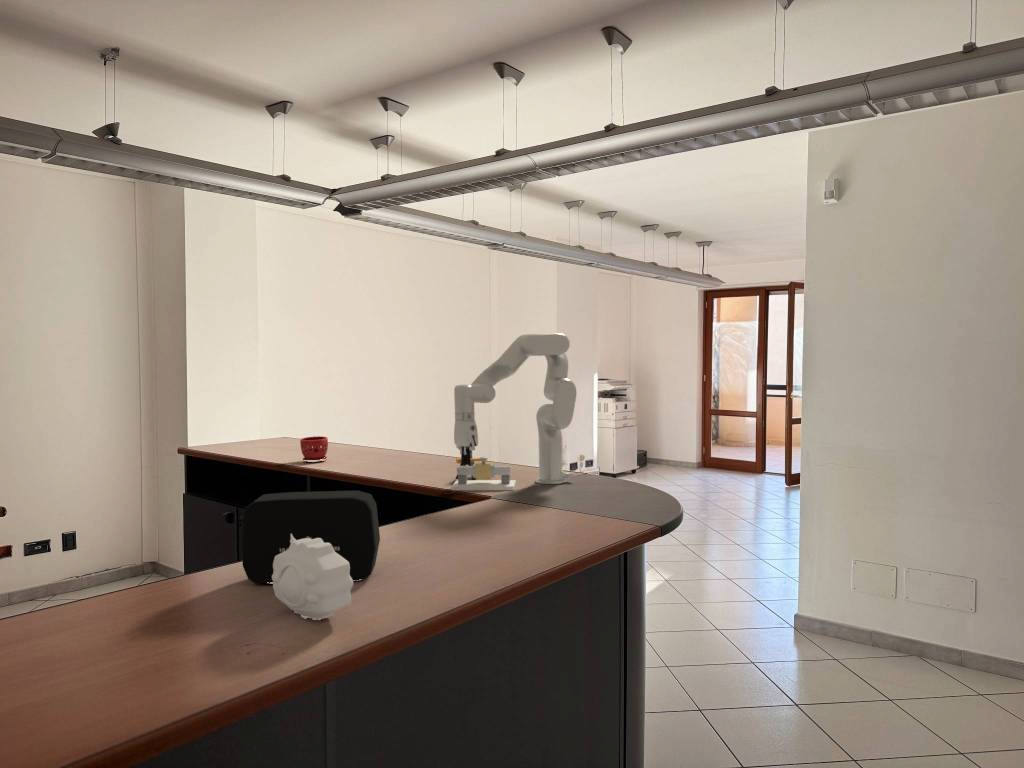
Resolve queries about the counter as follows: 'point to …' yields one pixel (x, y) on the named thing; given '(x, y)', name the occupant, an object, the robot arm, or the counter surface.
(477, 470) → the valve pipe
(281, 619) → the counter surface
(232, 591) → the counter surface
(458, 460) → the valve lever
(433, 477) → the counter surface
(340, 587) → the white lumpy lump
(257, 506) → the black hard case
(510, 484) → the board
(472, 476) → the dark grey tall piece
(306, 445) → the plant pot
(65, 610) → the counter surface
